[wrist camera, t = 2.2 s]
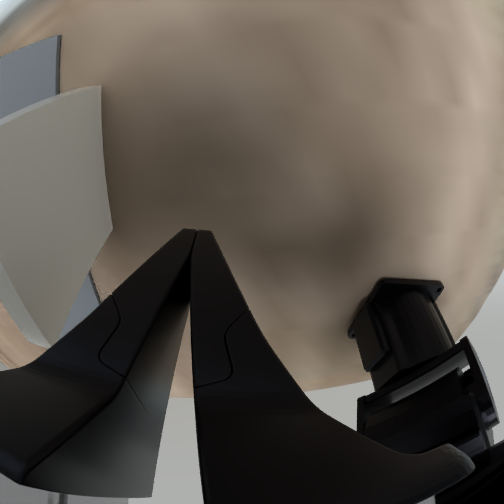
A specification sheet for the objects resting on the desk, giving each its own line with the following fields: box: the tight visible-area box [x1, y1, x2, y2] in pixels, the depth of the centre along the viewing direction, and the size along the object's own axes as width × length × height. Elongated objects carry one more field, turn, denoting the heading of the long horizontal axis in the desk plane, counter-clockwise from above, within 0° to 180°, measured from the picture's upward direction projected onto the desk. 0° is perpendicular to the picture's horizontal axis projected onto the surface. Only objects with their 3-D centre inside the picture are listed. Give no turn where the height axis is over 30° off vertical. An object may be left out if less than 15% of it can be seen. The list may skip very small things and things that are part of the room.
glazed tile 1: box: [0, 85, 113, 348], centre depth 9 cm, size 2×8×8 cm, turn 172°
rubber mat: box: [0, 35, 101, 340], centre depth 15 cm, size 9×27×1 cm, turn 172°
